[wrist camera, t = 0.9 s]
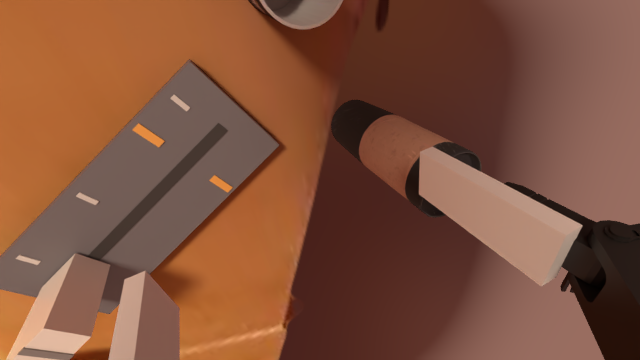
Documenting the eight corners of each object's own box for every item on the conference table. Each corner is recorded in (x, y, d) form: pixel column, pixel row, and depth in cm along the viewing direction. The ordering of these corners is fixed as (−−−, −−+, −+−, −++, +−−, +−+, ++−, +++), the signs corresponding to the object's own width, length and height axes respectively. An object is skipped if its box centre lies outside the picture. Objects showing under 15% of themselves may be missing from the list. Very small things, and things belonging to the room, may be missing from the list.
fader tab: (41, 287, 33) (-2, 373, 25) (74, 253, 33) (41, 329, 25) (79, 296, 36) (51, 377, 28) (110, 265, 35) (91, 338, 27)
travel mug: (376, 96, 42) (493, 145, 27) (369, 143, 46) (468, 210, 30) (331, 98, 39) (432, 156, 24) (327, 148, 43) (413, 226, 27)
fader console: (-14, 270, 32) (-25, 284, 30) (189, 59, 30) (190, 61, 28) (111, 302, 41) (109, 315, 39) (275, 139, 39) (279, 145, 37)
